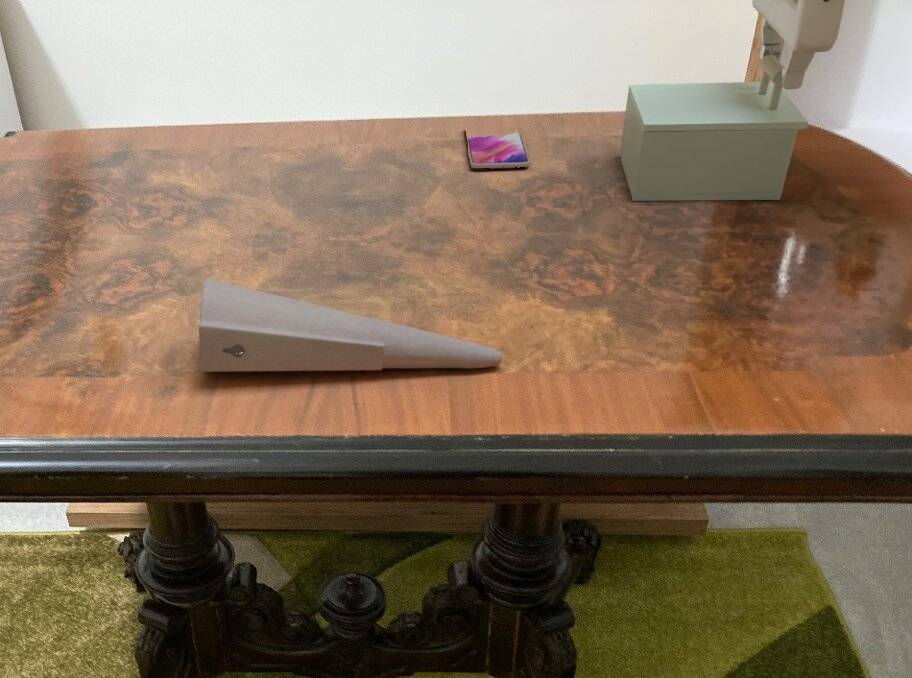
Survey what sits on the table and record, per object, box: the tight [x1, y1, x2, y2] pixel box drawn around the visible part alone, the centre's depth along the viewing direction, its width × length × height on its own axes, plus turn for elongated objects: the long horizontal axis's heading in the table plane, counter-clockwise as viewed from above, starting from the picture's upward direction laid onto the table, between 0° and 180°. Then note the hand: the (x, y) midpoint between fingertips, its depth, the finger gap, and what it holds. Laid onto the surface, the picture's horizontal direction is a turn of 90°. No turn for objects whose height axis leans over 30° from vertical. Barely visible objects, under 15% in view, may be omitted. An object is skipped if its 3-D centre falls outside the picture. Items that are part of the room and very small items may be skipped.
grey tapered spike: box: [198, 278, 503, 373], centre depth 81 cm, size 8×9×26 cm
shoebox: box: [619, 92, 799, 202], centre depth 105 cm, size 16×14×8 cm
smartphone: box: [467, 131, 530, 169], centre depth 119 cm, size 7×1×15 cm
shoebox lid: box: [627, 54, 809, 132], centre depth 101 cm, size 16×14×5 cm
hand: (778, 73), depth 99 cm, fingers open, 8 cm apart
